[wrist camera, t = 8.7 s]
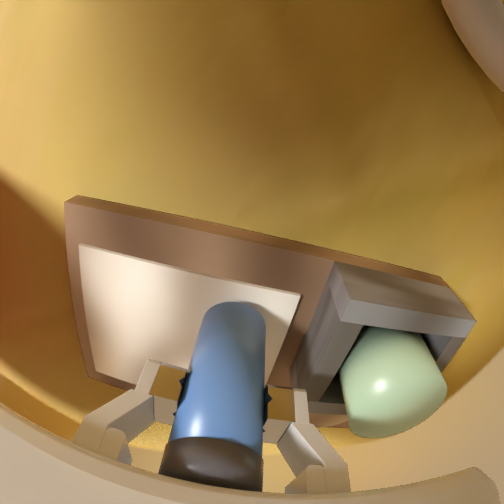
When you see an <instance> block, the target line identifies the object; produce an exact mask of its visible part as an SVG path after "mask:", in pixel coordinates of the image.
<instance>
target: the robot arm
mask: <svg viewBox="0 0 504 504" xmlns="http://www.w3.org/2000/svg"><path fill="white" fill-rule="evenodd" d="M187 370H188V369H185V368H182V367H178V366H175V365H171V364H168V363H164V362H161V361H157V360H154V359H150V358H149V359H148V360H147V362H146V364H145V367H144V369H143V371H142V374H141V376H140V378H139V381H138V383H137V386H136V388H135V390H133V389H130V390H128V391H127V392H125V393H123V394H122V395H120V396H118V397H117V398H115V399H113V400H111V401H110V402H108V403H106V404H105V405H103V406H101V407H99V408H98V409H96V410H94V411H92V412H91V413H89V414H87V415H85V417H84V419H83V421H82V423H81V425H80V427H79V429H78V431H77V433H76V435H75V438H74V440H73V442H70V441H68V440H65V439H63V438H61V437H59V436H57V435H55V434H53V433H51V432H49V431H47V430H46V429H44V428H42V427H40V426H38V425H36V424H34V423H33V422H31V421H29V420H28V419H26V418H24V417H23V416H21V415H19V414H18V413H16V412H14V411H13V410H11V409H10V408H8V407H6V406H5V405H3V404H2V403H0V504H501V502H500V497H499V493H498V490H497V487H496V485H495V483H494V481H493V480H492V479H491V478H489V477H488V476H487V475H486V474H485V473H484V472H483V471H481V470H480V469H478V468H476V467H472V468H468V469H465V470H462V471H458V472H455V473H452V474H448V475H445V476H441V477H437V478H433V479H430V480H425V481H421V482H416V483H411V484H406V485H400V486H395V487H388V488H381V489H374V490H366V491H356V492H351V488H350V480H349V473H348V466H347V463H346V462H345V461H344V460H343V459H342V457H341V456H340V455H339V454H338V453H337V452H336V451H335V449H334V448H333V447H332V446H331V445H330V443H329V442H328V441H327V440H326V439H325V437H324V436H323V435H322V434H321V433H320V431H319V430H318V429H317V428H316V427H315V425H314V424H310V421H309V411H308V401H307V392H306V390H305V389H297V388H291V387H282V386H275V385H268V384H267V385H266V387H265V389H264V417H263V442H264V443H272V444H277V447H278V448H279V450H280V452H281V453H282V455H283V457H284V458H285V460H286V462H287V463H288V465H289V467H290V468H291V470H292V471H293V473H294V475H295V476H296V478H295V479H294V480H293V481H292V482H291V483H290V484H288V485H287V486H286V487H285V493H270V492H257V491H247V490H238V489H230V488H223V487H217V486H211V485H205V484H200V483H195V482H190V481H185V480H181V479H177V478H172V477H168V476H165V475H161V474H157V473H153V472H150V471H146V470H143V469H140V468H136V467H134V466H131V463H132V458H131V454H130V450H129V447H128V443H129V442H130V441H131V440H133V439H134V438H135V437H136V436H138V435H139V434H140V433H141V432H143V431H144V430H145V429H146V428H148V427H149V426H150V425H151V424H153V423H154V421H157V422H161V423H165V424H169V425H173V422H174V418H175V414H176V412H177V409H178V405H179V402H180V398H181V393H182V389H183V387H184V383H185V380H186V376H187Z"/></svg>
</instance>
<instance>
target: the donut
mask: <svg viewBox="0 0 504 504" xmlns="http://www.w3.org/2000/svg"><path fill="white" fill-rule="evenodd" d="M441 2H442V5H443V7H444V9H445V11H446V13H447V15H448V17H449V19H450V21H451V23H452V25H453V28H454V30H455V31H456V33H457V34H458V36H459V37H460V39H461V40H462V42H463V44H464V45H465V47H466V49H467V50H468V52H469V54H470V55H471V56H472V57H473V59H474V60H475V61H476V62H477V64H478V65H479V66H480V67H481V69H482V70H483V71H484V73H485V74H486V75H487V77H488V78H489V79H490V80H491V81H492V82H493V83H494V84H495V85H496V86H497V87H498V88H499V89H500V90H501V91H502V92H503V93H504V5H503V1H502V0H441Z"/></svg>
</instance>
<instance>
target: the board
mask: <svg viewBox="0 0 504 504" xmlns="http://www.w3.org/2000/svg"><path fill="white" fill-rule="evenodd" d="M64 209H65V236H66V251H67V263H68V273H69V281H70V289H71V296H72V303H73V309H74V315H75V321H76V326H77V332H78V337H79V341H80V346H81V350H82V355H83V359H84V363H85V367H86V371H87V375H88V377H90V378H93V379H96V380H98V381H101V382H104V383H106V384H109V385H112V386H115V387H118V388H121V389H124V390H127V391H128V390H130V389H133V390H135V388H136V386H137V383H138V381H139V378H140V376H141V374H142V371H143V369H144V367H145V364H146V362H147V360H148V359H149V358H150V359H154V360H157V361H161V362H164V363H168V364H171V365H175V366H178V367H182V368H185V369H188V368H189V364H190V361H191V357H192V354H193V350H194V347H195V343H196V340H197V336H198V333H199V330H200V326H201V323H202V320H203V317H204V315H205V313H206V312H207V311H208V310H209V309H210V308H211V307H213V306H214V305H216V304H219V303H223V302H239V303H243V304H246V305H249V306H251V307H252V308H254V309H255V310H257V311H258V312H259V313H260V314H261V316H262V317H263V319H264V321H265V324H266V345H265V384H264V389H265V387H266V385H267V384H268V385H275V386H282V387H291V388H297V389H305V390H306V392H307V401H308V411H309V421H310V424H314V425H315V427H334V428H349V423H348V418H347V412H346V407H345V402H344V397H343V392H342V387H341V383H340V378H339V373H338V369H339V368H340V366H341V364H342V363H343V361H344V359H345V358H346V356H347V354H348V352H349V350H350V349H351V347H352V345H353V343H354V341H355V340H356V338H357V336H358V334H359V332H360V330H361V329H362V328H363V327H365V326H367V325H368V326H375V327H382V328H389V329H396V330H403V331H410V332H418V333H420V335H421V336H422V338H423V340H424V342H425V344H426V345H427V347H428V349H429V351H430V353H431V355H432V357H433V359H434V360H435V362H436V364H437V366H438V368H439V370H440V372H442V371H443V370H444V369H445V367H446V366H447V364H448V363H449V362H450V360H451V359H452V358H453V356H454V355H455V353H456V352H457V351H458V349H459V348H460V346H461V345H462V343H463V342H464V340H465V339H466V337H467V336H468V334H469V333H470V331H471V329H472V328H473V326H474V325H475V323H476V320H475V318H474V317H473V316H472V315H471V313H470V312H469V311H468V310H467V308H466V307H465V306H464V305H463V303H462V302H461V301H460V300H459V298H458V297H457V296H456V295H455V294H454V292H453V291H452V290H451V289H450V288H449V286H448V285H447V284H446V283H445V282H444V281H443V280H442V278H441V277H439V276H436V275H432V274H428V273H424V272H420V271H416V270H412V269H408V268H404V267H400V266H396V265H392V264H388V263H384V262H380V261H376V260H372V259H368V258H364V257H360V256H356V255H352V254H348V253H343V252H339V251H335V250H331V249H327V248H322V247H318V246H314V245H310V244H305V243H301V242H297V241H292V240H288V239H284V238H279V237H275V236H270V235H266V234H262V233H257V232H253V231H248V230H244V229H239V228H235V227H230V226H226V225H221V224H216V223H212V222H207V221H202V220H198V219H193V218H188V217H184V216H179V215H174V214H169V213H164V212H160V211H155V210H150V209H145V208H140V207H135V206H130V205H125V204H120V203H115V202H110V201H105V200H100V199H95V198H89V197H84V196H79V195H77V196H75V197H73V198H71V199H69V200H67V201H65V202H64ZM187 371H188V370H187Z"/></svg>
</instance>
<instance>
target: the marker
mask: <svg viewBox="0 0 504 504" xmlns="http://www.w3.org/2000/svg"><path fill="white" fill-rule="evenodd" d="M265 345H266V324H265V321H264V319H263V317H262V316H261V314H260V313H259V312H258V311H257V310H255V309H254V308H252V307H251V306H249V305H246V304H243V303H239V302H223V303H219V304H216V305H214V306H213V307H211V308H210V309H209V310H208V311H207V312H206V313H205V315H204V317H203V320H202V323H201V326H200V330H199V333H198V336H197V340H196V343H195V347H194V350H193V354H192V357H191V361H190V364H189V368H188V371H187V376H186V380H185V383H184V387H183V389H182V393H181V398H180V402H179V405H178V409H177V412H176V414H175V418H174V422H173V426H172V429H171V433H170V437H169V441H168V443H167V444H166V446H165V450H164V453H163V457H162V461H161V465H160V469H159V473H158V474H161V475H165V476H168V477H172V478H177V479H181V480H185V481H190V482H195V483H200V484H205V485H211V486H217V487H223V488H230V489H238V490H247V491H257V492H262V486H263V458H262V445H263V417H264V384H265Z"/></svg>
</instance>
